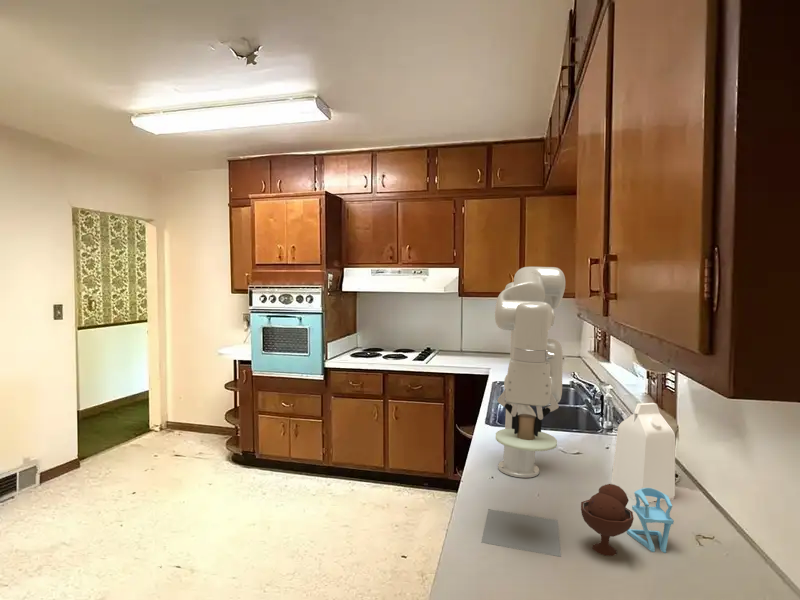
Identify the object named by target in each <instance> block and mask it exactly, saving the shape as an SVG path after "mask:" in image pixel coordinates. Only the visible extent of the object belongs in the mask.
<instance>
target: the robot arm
mask: <svg viewBox="0 0 800 600" xmlns="http://www.w3.org/2000/svg"><path fill="white" fill-rule="evenodd" d="M565 289H566V277H565V274H564V272H563V270H561V269H560V268H559V267H555V266H524V267H521V268H519V269H518V270H517V271H516V272H515V274H514V277H513V282H509V283H507V284H506V285H505V288H504V289H503V290H502V291H501V292H500V293H499V295H498V296H497V299H496V303H495V311H494V320H495V324H496V326H497V327H498V328H499V329H501V330H503V331H504V330H505V331H510V347H509V348H510V351H509V352H510V353H509V355H510V360H509V364H508V368H507V373H506V375H505V377H504V381H503V382H504V384H503V386H504V390H503V391H502V393H501V394H500V395H499V397H498V398H497V401H496V402H497V403H499V405H501V406H503V408H504V409H505V420H504V421H505V422H504V423H505V424H504V429H509V428H512V429H515V430H514V434H517V433H518V415H519V414H529V415H533V416H535V417H536V419H535V436H538V432H542V423H543V422H542V421H543V419H544V418H545V417H546V416H548V415H549V414H550V413H551V412H554V411H556V410H558V409H559V407H560V406H559V403H560V402H561V399H562V395H563V349H562V345H561V343H560V342H559V341H558V340H557V339H554V338H549V336H548V334H549V330H550V329H551V328H552V326H554V323H555V310H556V309H558V308H559V307H560V306H561V304H562V300H563V298H564V297H563V296H564V293H565V291H566V290H565ZM532 406H533V407H536V412H535V410H534V409H533V408H532ZM543 407H544V408H543ZM535 455H536V451H525V450H519V449H514V448H510V447H507V446H505V445H503V460H502V461H500V462H499V463H498V470H499V471H500V472H502V473H503V474H505V475H507V476H511V477H514V478H522V479H526V478H528V479H529V478H534V477H538V475H539V474H540V468H539V467H538V466H537V465H536V464H535V462H536V461H535V459H536V457H535Z"/></svg>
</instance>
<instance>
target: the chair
mask: <svg viewBox="0 0 800 600" xmlns="http://www.w3.org/2000/svg"><path fill="white" fill-rule="evenodd" d="M634 494H635V497H636V500H635V502H636V503H635V504H634V505H631V510H633V513H635V515H637V518H638V519H639V521H640V524H641V527H642V528H643V529H634V528H632V529H631V528H630V529H629V530H627V531H626V534H627V535H628V536H630V537H631V538H633V539H634V540H635V541H637V542H638V543H639V544H640V545H642V546H644V547H645V548H646V549H648V551H650V552H651V553H655V551H656V548H655V544H654V541H653V538H652V537H651V536H657V540H658V545H659V549H660V551H661V552H662V553H665V554H666V553H667V546H668V540H669V535H670V531H671V527H672V525H674V523H675V522H674V521H675V520H674V519H673V518H672V517H671V516H670V515H671V510H672V508H673V504H672V502H671V501H672V500H670V499H669V497H668V496H667V495H666V494H664V493H662V492H660V491H658V490H655V489H652V488H642V489H639V490H637V491H635V492H634ZM645 496H652V497H656V498H657V502H655V506H650V503H648V501H647V499H646V497H645ZM638 497H639V498H640V499H641V500H642V502H643V503H644V504H643V505H641V503H640V500H639V498H638ZM661 498H663V499H664V500H665V503H666V505H667V509H666V511H664V510H663V509H662V508H661V501H660V499H661ZM651 523H653V524H654V523H656V524H657V523H660V524H663V527H664V528H663V532H661V531H659V530H652V529H651V530H650V529H649V528H648V525H647V524H651ZM662 533H663V534H662ZM640 535H645V537H646V539H644V538H643V537H642V536H640Z"/></svg>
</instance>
